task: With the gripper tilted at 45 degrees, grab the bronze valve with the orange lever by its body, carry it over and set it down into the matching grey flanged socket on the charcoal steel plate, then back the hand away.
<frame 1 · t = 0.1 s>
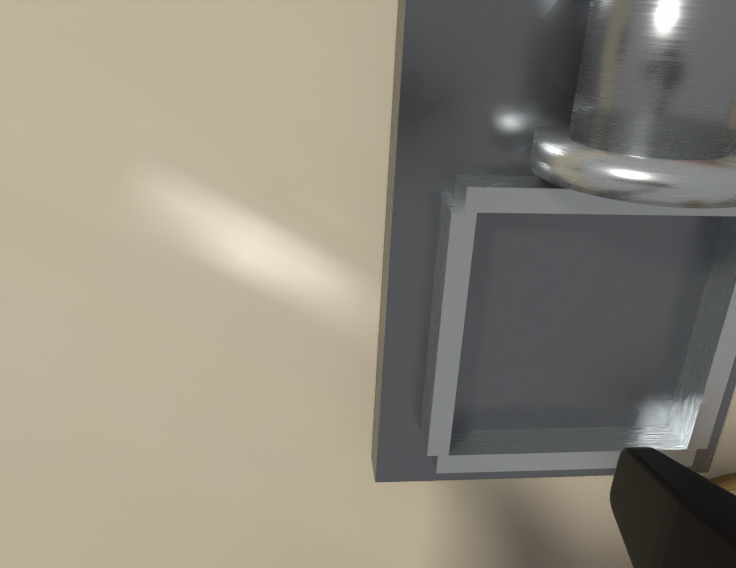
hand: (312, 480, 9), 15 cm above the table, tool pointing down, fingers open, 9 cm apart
socket plate: (574, 231, 24), on the table
valve: (722, 533, 31), on the table
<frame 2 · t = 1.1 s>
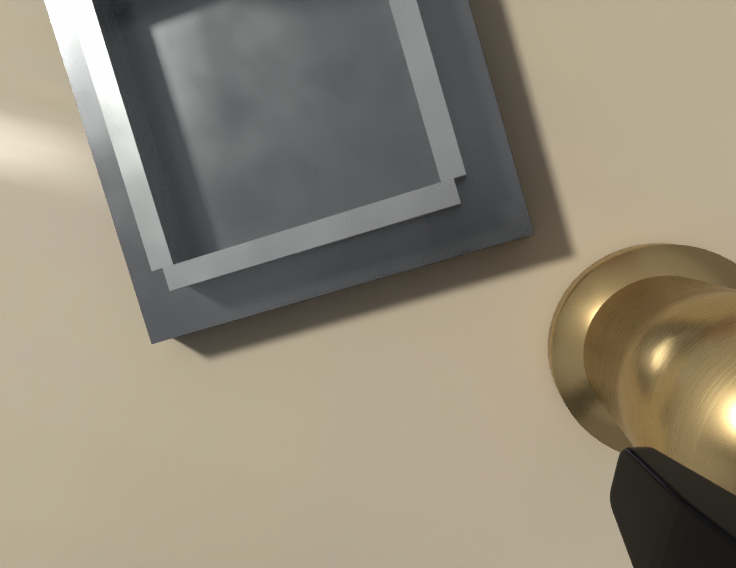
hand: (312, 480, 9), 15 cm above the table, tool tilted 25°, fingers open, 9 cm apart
socket plate: (262, 21, 24), on the table
valve: (655, 347, 23), on the table
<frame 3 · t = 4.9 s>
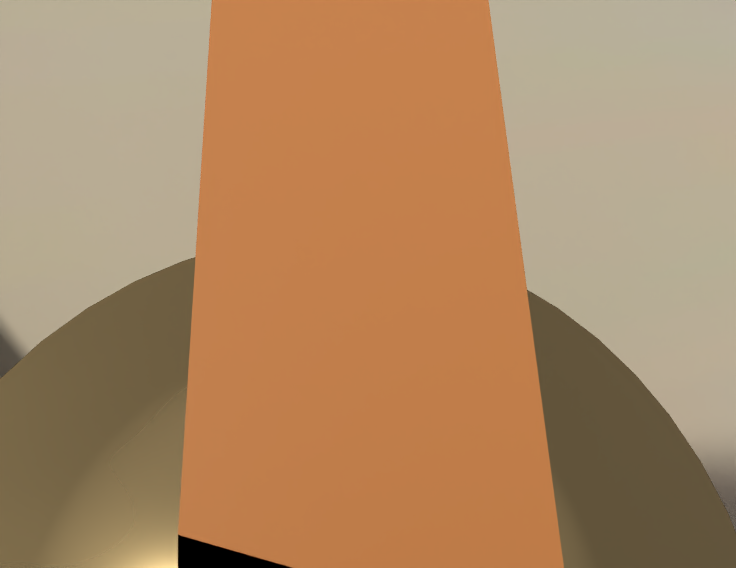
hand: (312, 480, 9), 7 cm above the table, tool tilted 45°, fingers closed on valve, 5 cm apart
when the fingers open (10 cm above the table, at t = 8.5 s): valve drops 2 cm, resting on socket plate.
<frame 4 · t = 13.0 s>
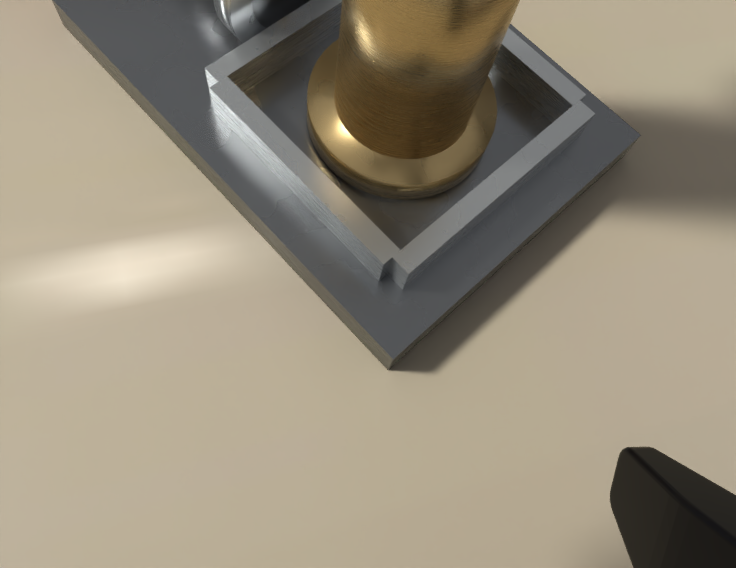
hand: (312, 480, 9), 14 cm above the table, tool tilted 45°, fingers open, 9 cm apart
socket plate: (344, 90, 28), on the table
valve: (398, 117, 26), point 2 cm above the table, touching socket plate
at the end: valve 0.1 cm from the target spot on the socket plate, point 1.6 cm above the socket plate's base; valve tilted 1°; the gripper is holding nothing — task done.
